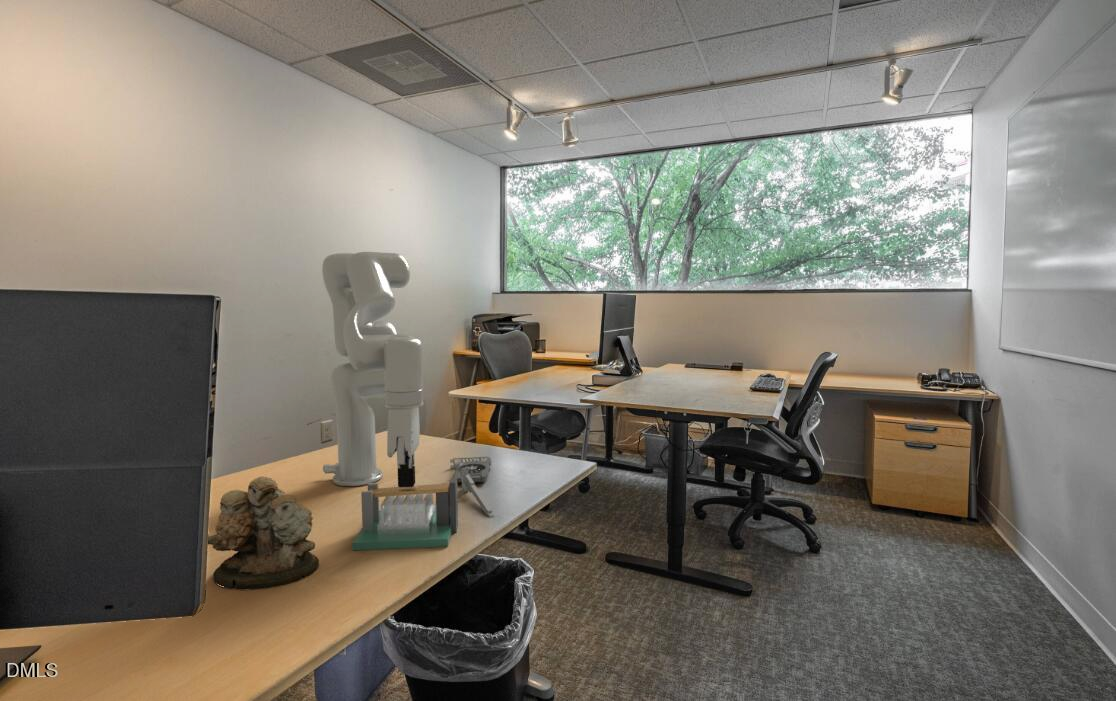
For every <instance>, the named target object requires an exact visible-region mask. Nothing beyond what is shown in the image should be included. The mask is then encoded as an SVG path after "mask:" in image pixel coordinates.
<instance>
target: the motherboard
mask: <svg viewBox="0 0 1116 701" xmlns="http://www.w3.org/2000/svg"><path fill="white" fill-rule="evenodd" d="M370 488H374V489H376V488H379V483H378V482H373V483H368V484H367V490H362V491H361V492H360V494H361V517H362V518H361V519H362V522H361V523H362V528H361V529H360V531H359V532H358V533H357V535H356V537H355V538H354V540H353V541H352V543H351V544H352V546H351V548H352V551H369V550H370V551H371V550H391V549H392V550H394V549H416V548H437V547H439V548H440V547H441V548H442V547H448V546H449V544H450V539H451V537H452V529H451V526H450V524H449V526H437V523H436V516H435V518H434V521H433V524H432V527H431V530H430V532H429V533H419V534H395V535H378V530H377V525H378V524H379V522H380V520H381V512H380V500H379V499H380V497H373V491H368V490H369V489H370Z"/></svg>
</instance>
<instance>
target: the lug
mask: <svg viewBox="0 0 1116 701" xmlns="http://www.w3.org/2000/svg"><path fill="white" fill-rule="evenodd" d="M449 487H450V489H449V492H442V493H435V505H436V523H437V526H449V524H450V526H451V529H452V533H457V531H458V528H459V506H458V505H459V501H458V499H459V497H458V496H459V495H458V483H457V477H453V476H451V478H450V480H449ZM452 533H451V534H452Z"/></svg>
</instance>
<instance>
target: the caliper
mask: <svg viewBox="0 0 1116 701" xmlns="http://www.w3.org/2000/svg"><path fill="white" fill-rule="evenodd" d="M475 483H476V482H474V481H473V480H472V478H471V477H470V475H469V474H468V470H467V467H466V468H463V471H462V483H461V490H462V491H463V492H464V493H468V492H469V493H471V494H472V495H473V497H474V498H475V500H476V501H477V502H478V504H479V506H480V507H481V509H482V510H483V512H484V514H486V515H487V516H488V517H489V518H495V515H494V513H493V510H492V508H491V506H490V505H489V504H488V503H489V502H487V500H486V499H485V498H484V496H483V495H482V493H481V491H479V489H478V488H477V486H476V484H475Z"/></svg>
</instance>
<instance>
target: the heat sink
mask: <svg viewBox="0 0 1116 701" xmlns="http://www.w3.org/2000/svg"><path fill="white" fill-rule="evenodd" d="M433 494H434V493H428V494H425V495H424V494H414V495H415V496H414V495H400V496H386V497H385V498H384V499H383V501H382V502H381V503H380V504H379V510H380V512H381V520H380V522H379V524H378V525H377V530H378V535H395V534H419V533H429V532H430V530H431V527H432V524H433V521H434V518H435V516H436V504H434V503H433V502H434V501H433V499H434V498H433Z"/></svg>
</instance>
